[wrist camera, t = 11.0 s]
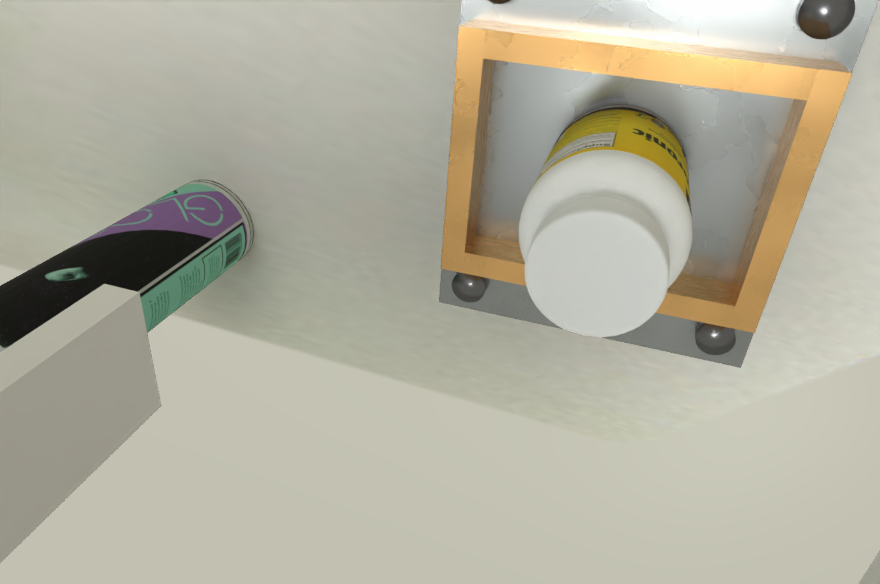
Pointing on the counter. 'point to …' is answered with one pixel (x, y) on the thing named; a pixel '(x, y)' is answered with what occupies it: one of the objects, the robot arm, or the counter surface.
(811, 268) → the counter surface
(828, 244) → the counter surface
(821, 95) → the mold
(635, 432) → the counter surface
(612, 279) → the supplement bottle
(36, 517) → the robot arm
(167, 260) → the spray can
